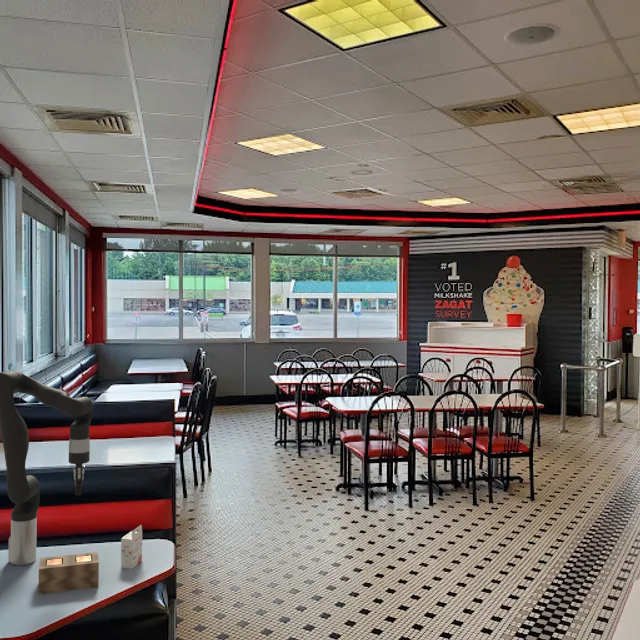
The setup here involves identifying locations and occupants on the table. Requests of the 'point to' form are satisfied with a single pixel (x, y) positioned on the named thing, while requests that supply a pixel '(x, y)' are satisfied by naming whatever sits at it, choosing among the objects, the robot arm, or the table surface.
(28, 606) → the table surface
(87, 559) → the peg far
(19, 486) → the robot arm
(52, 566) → the walnut block
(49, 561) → the peg near
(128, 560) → the ink cartridge box
